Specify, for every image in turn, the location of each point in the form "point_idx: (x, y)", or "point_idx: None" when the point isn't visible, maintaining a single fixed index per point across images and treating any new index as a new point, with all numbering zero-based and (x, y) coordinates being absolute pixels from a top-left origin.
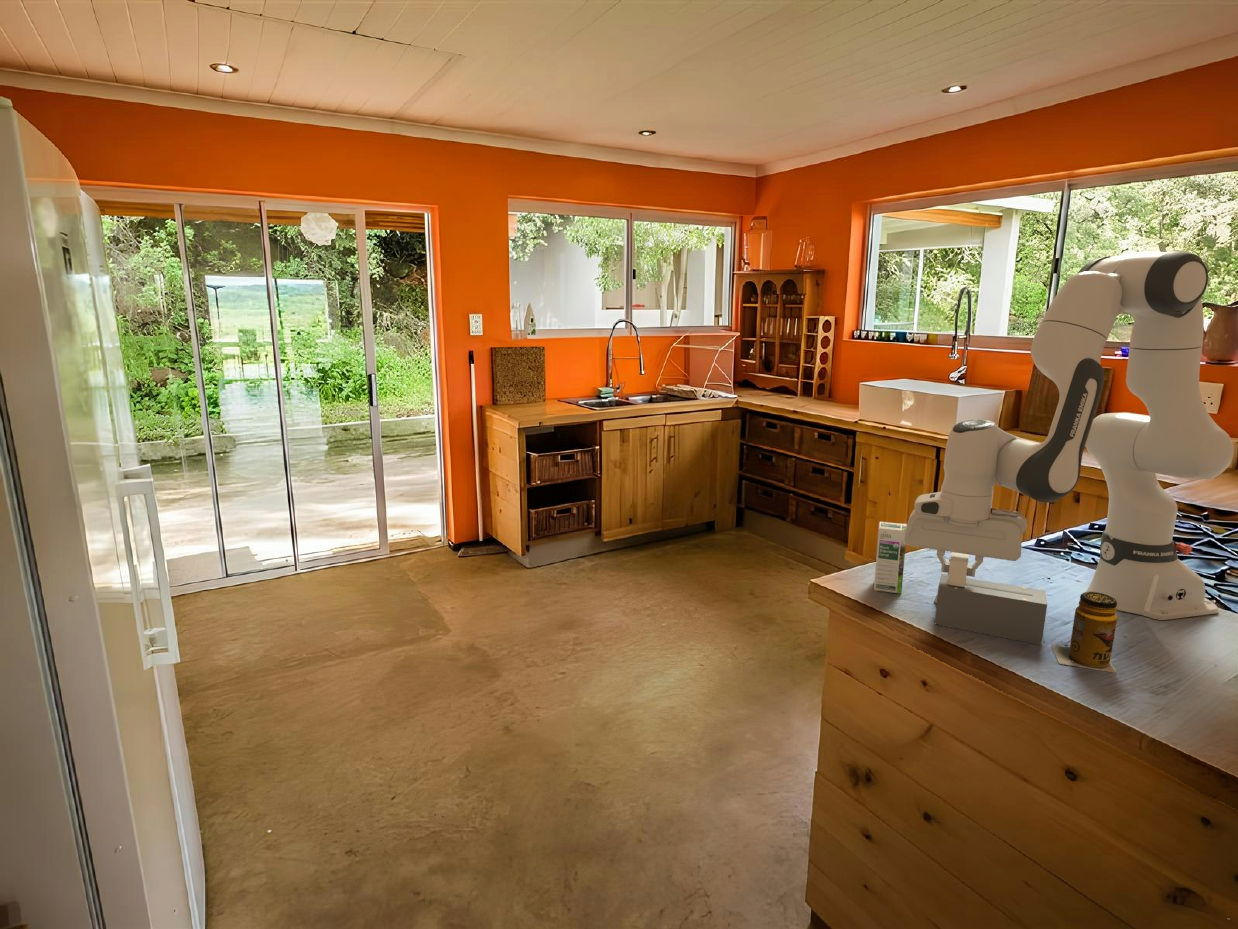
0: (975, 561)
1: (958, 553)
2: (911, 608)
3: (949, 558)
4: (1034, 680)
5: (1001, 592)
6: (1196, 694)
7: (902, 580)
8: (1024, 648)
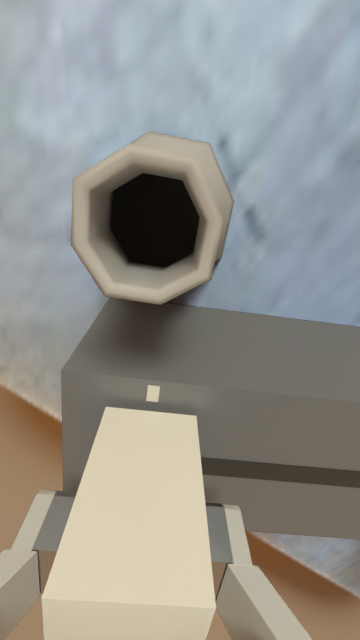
0: (255, 611)
1: (110, 616)
2: (26, 305)
3: (74, 233)
4: (287, 551)
5: (332, 500)
6: None
7: None
8: None
